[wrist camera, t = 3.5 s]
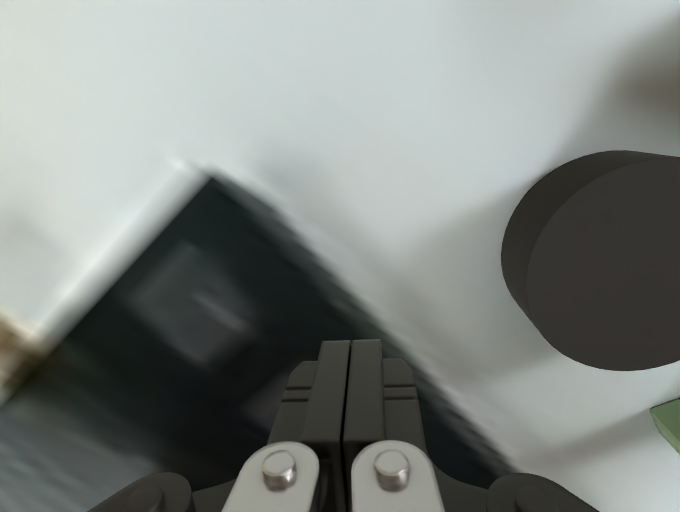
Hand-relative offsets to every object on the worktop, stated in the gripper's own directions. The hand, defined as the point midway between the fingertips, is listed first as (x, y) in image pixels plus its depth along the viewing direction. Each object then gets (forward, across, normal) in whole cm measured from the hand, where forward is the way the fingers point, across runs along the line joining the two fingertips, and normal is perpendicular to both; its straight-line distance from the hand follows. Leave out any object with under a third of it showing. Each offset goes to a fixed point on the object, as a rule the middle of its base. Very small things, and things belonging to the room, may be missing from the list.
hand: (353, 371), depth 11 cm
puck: (+8, -10, 0) cm, 13 cm away
